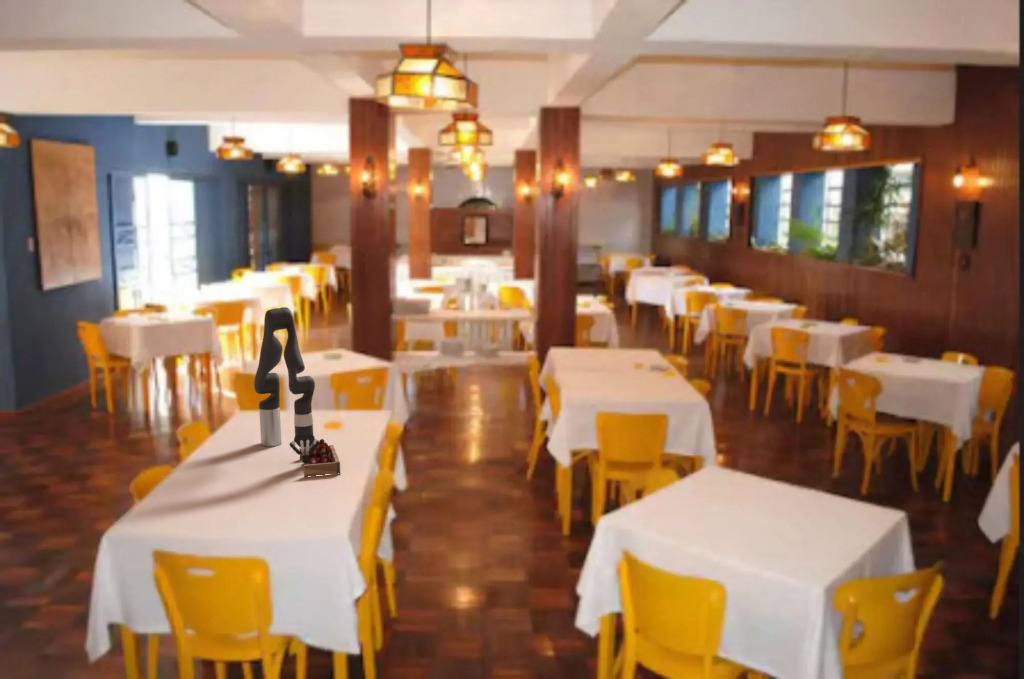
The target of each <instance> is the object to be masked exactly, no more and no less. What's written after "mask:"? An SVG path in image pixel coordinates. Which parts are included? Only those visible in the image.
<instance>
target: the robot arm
mask: <svg viewBox="0 0 1024 679" xmlns="http://www.w3.org/2000/svg"><path fill="white" fill-rule="evenodd" d="M295 324H296V323H295V320H294V315H293V313H292V310H291V309H290V308H289V307H287V306H285V307H279V308H278V307H277V308H270V309H268V310H266V312H265V314H264V321H263V337H262V342H261V347H260V353H259V360H258V366H257V370H256V373H255V376H254V381H253V387H254V391H255V393H256V394H258V395H265V394H267V395H268V394H269V396H267V397H266V398H265V399H262V400H260V402H258V411H259V412H258V413H259V414H258V415H259V428H260V429H259V430H260V444H261V446H262V447H275V446H276V447H278V446H280V445H282V426H281V423H282V422H281V420H282V419H281V403H280V402H281V398H280V395H281V394H280V387H281V385H280V384H281V382H280V376H279V375H278V373H277V372H271V371H272V370H273V369H274V368H275V367H277V366H278V365H279V363H280V362H281V360H282V356H283V359H284V363H285V365H286V368H287V374H288V390H289V391H290V393H292V395H302V396H301V397H299V398H297V399H295V400H294V402H293V403H294V404H293V406H294V407H293V408H294V417H293V418H294V419H293V422H294V425H293V426H294V438H293V441H291V442H289V443H288V444H289V447H290V448H291V449H292V450H293V451H294V452H295V453H296V454H297V455H299V456H300V455H302V460H301V462H302V463H303V465H308V463H307V462H309V454H311V453H313V452H314V450H315V449H316V448H317V446H318V445H319V444H320V439H316V438H315V437H316V436H315V435H314V418H313V410H312V407H313V406H312V401H313V396H314V392H315V387H316V382H315V379H314V378H313V377H312V376H310V375H304V376H297V375H298V374H300V373H301V374H302V373H303V372H304V371H305V369H306V368H305V362H304V361H303V357H302V353H301V351H300V350H301V349H300V348H299V347H300V346H299V343H298V334H297V330H296V325H295ZM280 330H286V332H287V340H286V344H285V347H284V350H283V345H282V343H281V341H280V340H279V339H278V337H276V335H275V331H280ZM282 354H283V355H282ZM313 441H314V445H313V446H312V448H311V449H310V450H309V446H310V445H311V444H312V443H313ZM297 446H298V447H299V448H301V451H300V449H299V448H298V447H297ZM304 447H305V453H306V454H305V453H304Z"/></svg>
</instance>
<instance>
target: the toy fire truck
mask: <svg viewBox="0 0 1024 679" xmlns="http://www.w3.org/2000/svg"><path fill="white" fill-rule="evenodd" d="M319 442H320V444H319V445H318V446H317V448H316V449H315V450H314V452H313V453H311V454H309V462H307V464H319V463H330V462H331V457H332V456H331V449H330V448H329V446H330V445H329V444H328V443H327V442H325V440H324V439H323V438H321V439H319ZM313 445H314V441H313V443H312V444H311V445H310V446H309V450H310V449H311V448H312V446H313ZM324 446H325V447H326V448H325V447H324ZM326 452H327V453H326ZM304 453H305V447H304ZM305 454H306V453H305Z"/></svg>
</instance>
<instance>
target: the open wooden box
mask: <svg viewBox="0 0 1024 679" xmlns="http://www.w3.org/2000/svg"><path fill="white" fill-rule="evenodd" d="M328 446H329V448H330V449H331V456H332V457H331V459H332V460H331V459H330V460H331V461H329V463H321V462H318V464H309V463H307V464H303V477H308V476H316V475H325V474H338V473H340V474H341V461H340V459H339V457H338V454H337V452H336V449H335V447H334V445H333V444H332V445H328ZM324 447H325V446H324ZM325 448H326V447H325ZM298 450H299V451H301V447H299V448H298ZM326 453H327V452H326ZM299 460H300V461H302V455H300V454H299ZM308 478H309V477H308Z"/></svg>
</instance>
